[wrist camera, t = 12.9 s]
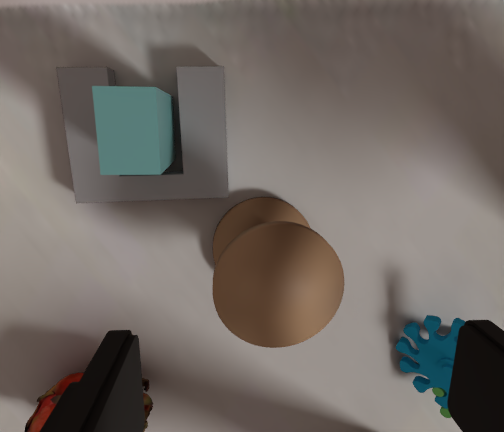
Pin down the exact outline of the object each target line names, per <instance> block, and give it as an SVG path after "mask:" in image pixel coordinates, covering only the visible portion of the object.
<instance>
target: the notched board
mask: <svg viewBox="0 0 504 432" xmlns="http://www.w3.org/2000/svg"><path fill="white" fill-rule="evenodd" d="M56 68H57V75H58V82H59V89H60V96H61V103H62V110H63V117H64V124H65V131H66V138H67V144H68V151H69V158H70V165H71V172H72V179H73V186H74V193H75V200H76V203H97V202H122V201H148V200H174V199H200V198H225V197H229V196H228V168H227V140H226V112H225V84H224V66H201V67H176V68H177V83H178V98H179V113H180V128H181V143H182V158H183V171H172V172H163V173H162V174H161V175H101V174H100V164H99V153H98V143H97V133H96V123H95V112H94V102H93V92H92V86H115V76H114V70H112V69H110V68H108V67H56Z"/></svg>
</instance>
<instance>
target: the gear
mask: <svg viewBox="0 0 504 432" xmlns="http://www.w3.org/2000/svg"><path fill="white" fill-rule="evenodd" d="M464 323H465V321H463V320H461V319H459V318H455V319H454V321H453V323H452V325H451V332H450V333H449V334H447V335H445V336H441V335H439V334H437V332H436V330H437V329H438V328H439V326H440V324H441V319H440V318H439V317H437V316H430V315H427V316H426V318H425V320H424V325H425V327H426V328H427V330H428V333H429V339H428V340H426V339H423V338H422V337H421V336H420V334H419V332H420V327H419V325H418V324H417V323H416V322H413V323H410V324H408V325H406V326H405V328H404V333H405V334H406V335H407V336H408V337H410V338H411V339H412V340H413V341H414V342H415V343H416V345H417V347H418V349H419V350H416V349H414V348H413V347H412V346H411V344H410V342H409V340H408V339H407V338H405V337H402V338H401V339H400V340H399V342H398V343H397V345H396V349H397V350H398V351H399V352H401V353H405V354H407V355H409V356H411V357H412V358H414V359H415V360H416V361H417V362H418V363H419V364H416V363H414V362H413V361H412V360H411V359H410V358H408V357H405V356H404V357H402V359H401V361H400V368H401V371H403V372H406V373H408V372H416V373H419V374H422V375H424V376H426V377H428V378H429V379H426V378H424V377H421V376H416V377H415V379H414V381H413V385H414V387H415V388H416V389H417V390H418V392H420V393H423V392H425V391H426V390H427V389H429V388H433V389H432V391H433V393H434V394H435V395H436V398H435V401H436V402H437V403H438V404H439V405H440V406H442V407H441V409H440V413H441V414H442V415H443V416H444V417H446V418H450V417H451V415H450V413H449V411H448V406H447V400H448V394H449V388H450V382H451V376H452V369H453V363H454V357H455V351H456V345H457V339H458V332H459V328H460V327H461V326H464Z"/></svg>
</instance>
